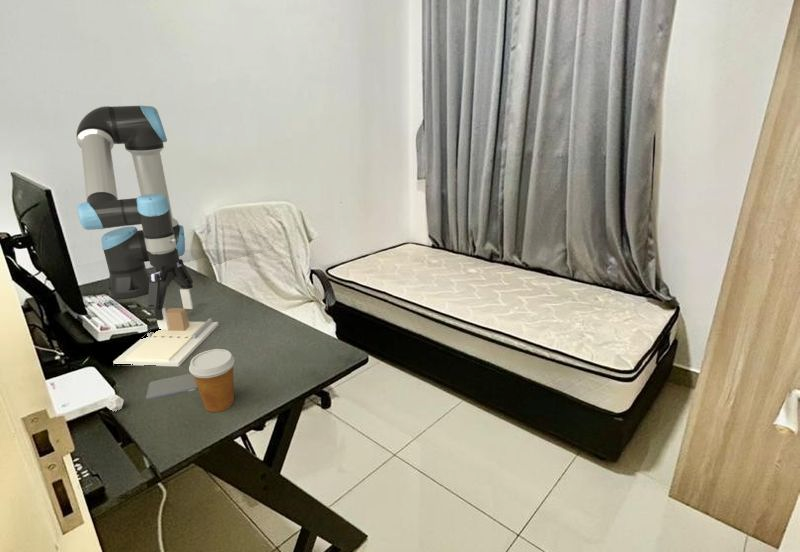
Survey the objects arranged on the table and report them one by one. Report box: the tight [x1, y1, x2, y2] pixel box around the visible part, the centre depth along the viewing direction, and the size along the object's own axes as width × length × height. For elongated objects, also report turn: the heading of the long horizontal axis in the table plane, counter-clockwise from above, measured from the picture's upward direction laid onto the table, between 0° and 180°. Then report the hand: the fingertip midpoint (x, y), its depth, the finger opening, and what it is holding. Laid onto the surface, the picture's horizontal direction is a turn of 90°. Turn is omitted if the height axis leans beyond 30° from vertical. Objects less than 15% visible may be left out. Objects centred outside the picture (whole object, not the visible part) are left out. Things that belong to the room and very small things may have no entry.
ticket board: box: [112, 317, 220, 367], centre depth 132 cm, size 24×18×2 cm
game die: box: [105, 394, 125, 413], centre depth 104 cm, size 4×4×3 cm
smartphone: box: [145, 372, 198, 400], centre depth 113 cm, size 8×1×15 cm
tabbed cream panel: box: [152, 307, 204, 337], centre depth 136 cm, size 8×12×7 cm, turn 86°
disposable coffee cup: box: [188, 348, 236, 413], centre depth 104 cm, size 10×10×12 cm
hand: (176, 318), depth 136 cm, fingers open, 13 cm apart
